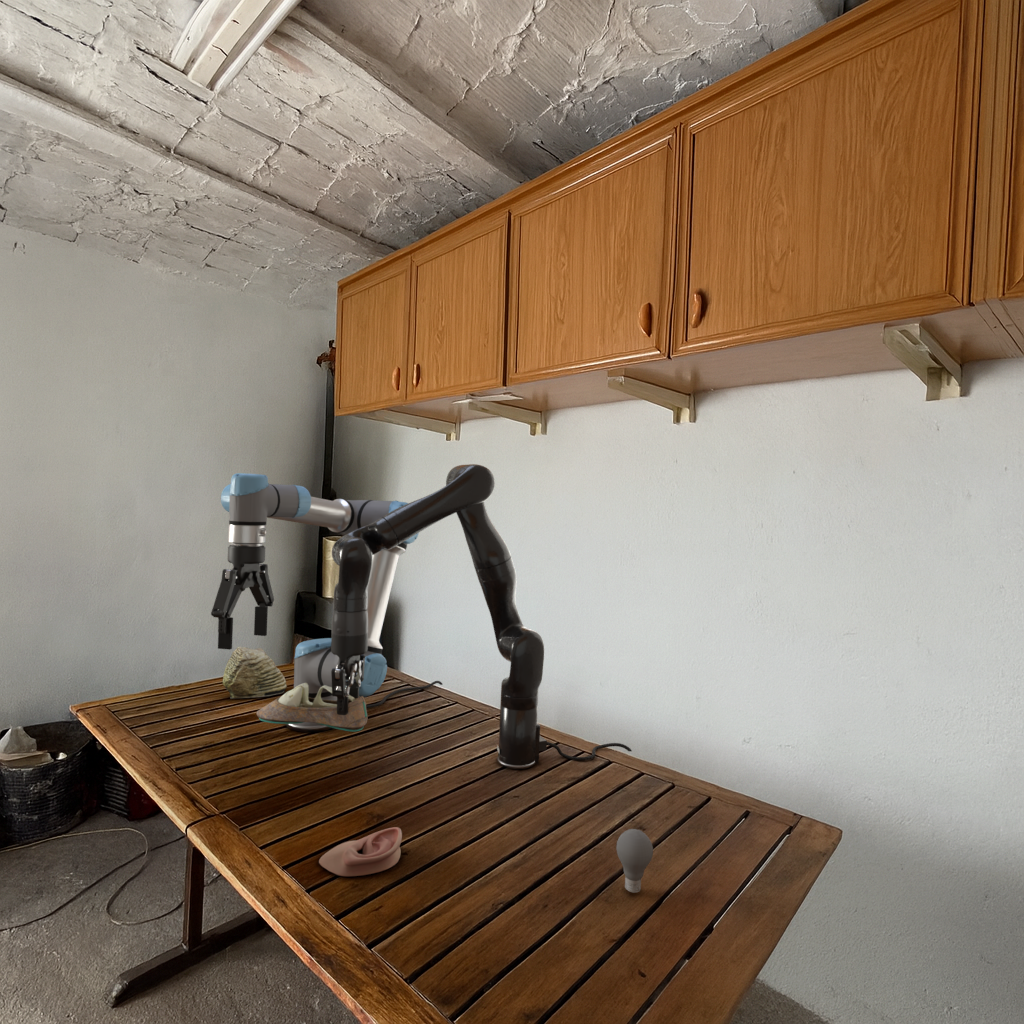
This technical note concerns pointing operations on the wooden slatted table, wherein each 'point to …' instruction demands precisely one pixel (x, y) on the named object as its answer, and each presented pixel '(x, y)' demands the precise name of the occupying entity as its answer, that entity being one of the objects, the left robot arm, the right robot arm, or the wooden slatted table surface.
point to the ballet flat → (314, 710)
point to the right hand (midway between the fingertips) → (348, 708)
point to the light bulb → (634, 857)
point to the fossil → (252, 674)
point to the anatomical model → (365, 854)
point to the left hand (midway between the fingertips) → (243, 641)
